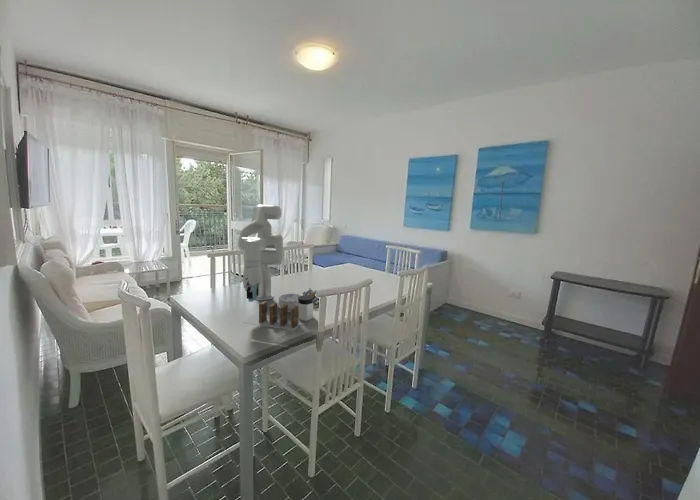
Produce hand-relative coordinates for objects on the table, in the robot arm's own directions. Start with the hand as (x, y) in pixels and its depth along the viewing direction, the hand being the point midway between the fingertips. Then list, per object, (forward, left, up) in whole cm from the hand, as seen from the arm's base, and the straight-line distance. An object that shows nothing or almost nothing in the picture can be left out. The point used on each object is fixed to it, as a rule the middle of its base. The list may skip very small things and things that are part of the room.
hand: (252, 296), depth 152 cm
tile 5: (+24, 0, -13) cm, 27 cm away
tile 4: (+18, 0, -13) cm, 22 cm away
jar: (+25, +12, -13) cm, 31 cm away
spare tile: (0, 0, -2) cm, 2 cm away
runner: (+11, 0, -13) cm, 17 cm away
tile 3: (+12, 0, -13) cm, 18 cm away
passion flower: (+20, +34, -14) cm, 42 cm away
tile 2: (+6, 0, -13) cm, 14 cm away
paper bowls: (+13, +21, -14) cm, 28 cm away
